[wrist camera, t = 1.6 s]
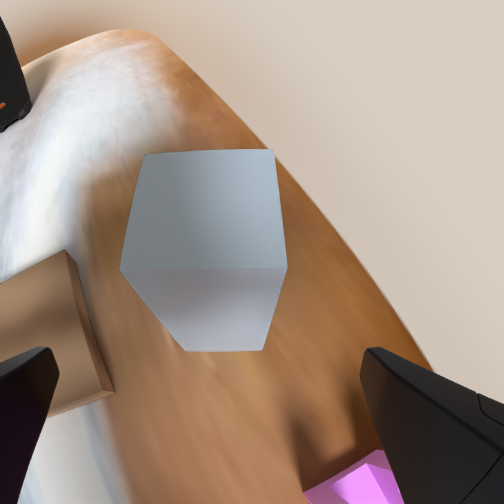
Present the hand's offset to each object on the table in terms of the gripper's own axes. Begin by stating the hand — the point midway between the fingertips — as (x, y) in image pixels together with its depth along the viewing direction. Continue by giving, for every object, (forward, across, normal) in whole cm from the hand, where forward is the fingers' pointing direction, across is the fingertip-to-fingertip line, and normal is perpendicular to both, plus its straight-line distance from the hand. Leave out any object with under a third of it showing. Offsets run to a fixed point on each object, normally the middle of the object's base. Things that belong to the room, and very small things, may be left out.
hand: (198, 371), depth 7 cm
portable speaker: (+34, +35, -17) cm, 51 cm away
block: (+12, 0, +5) cm, 13 cm away
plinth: (+10, +15, +7) cm, 19 cm away
